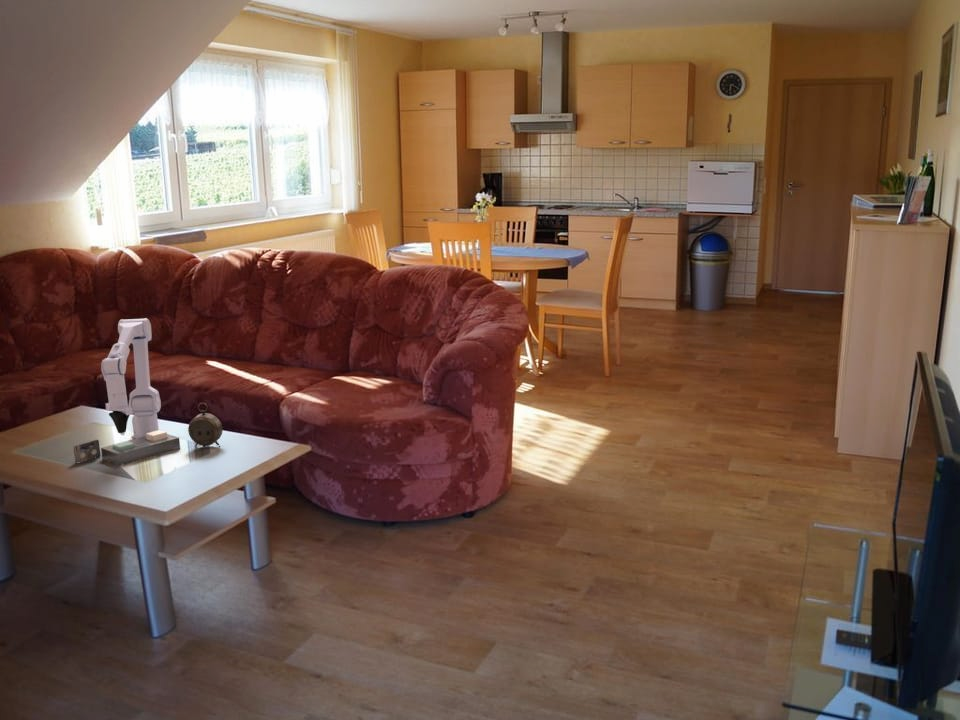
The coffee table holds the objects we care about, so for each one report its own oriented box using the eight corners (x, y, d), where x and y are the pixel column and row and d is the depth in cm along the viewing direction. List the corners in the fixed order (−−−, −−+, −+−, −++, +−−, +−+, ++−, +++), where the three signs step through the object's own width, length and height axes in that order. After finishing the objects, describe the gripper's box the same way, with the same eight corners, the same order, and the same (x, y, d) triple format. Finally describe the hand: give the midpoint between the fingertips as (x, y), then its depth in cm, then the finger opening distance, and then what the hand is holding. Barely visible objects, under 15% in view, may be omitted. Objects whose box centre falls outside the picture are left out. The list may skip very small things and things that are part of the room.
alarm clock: (224, 445, 303) (220, 400, 300) (218, 450, 298) (214, 404, 295) (194, 445, 304) (190, 400, 301) (188, 450, 299) (183, 404, 296)
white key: (147, 444, 301) (145, 433, 300) (160, 440, 304) (159, 429, 304) (154, 446, 297) (153, 435, 297) (167, 443, 301) (166, 432, 300)
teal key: (114, 456, 292) (112, 444, 291) (128, 452, 296) (126, 440, 295) (121, 458, 289) (120, 447, 288) (135, 454, 292) (134, 443, 292)
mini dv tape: (98, 456, 297) (96, 439, 295) (100, 456, 296) (98, 439, 295) (75, 462, 290) (73, 445, 289) (77, 463, 289) (75, 446, 288)
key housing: (102, 459, 293) (100, 447, 292) (162, 442, 309) (161, 432, 308) (119, 465, 285) (118, 454, 284) (180, 448, 301) (179, 437, 300)
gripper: (94, 392, 289) (100, 431, 292) (116, 398, 280) (121, 438, 283) (115, 388, 295) (120, 426, 297) (136, 394, 285) (141, 433, 288)
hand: (122, 432), depth 291 cm, fingers closed
